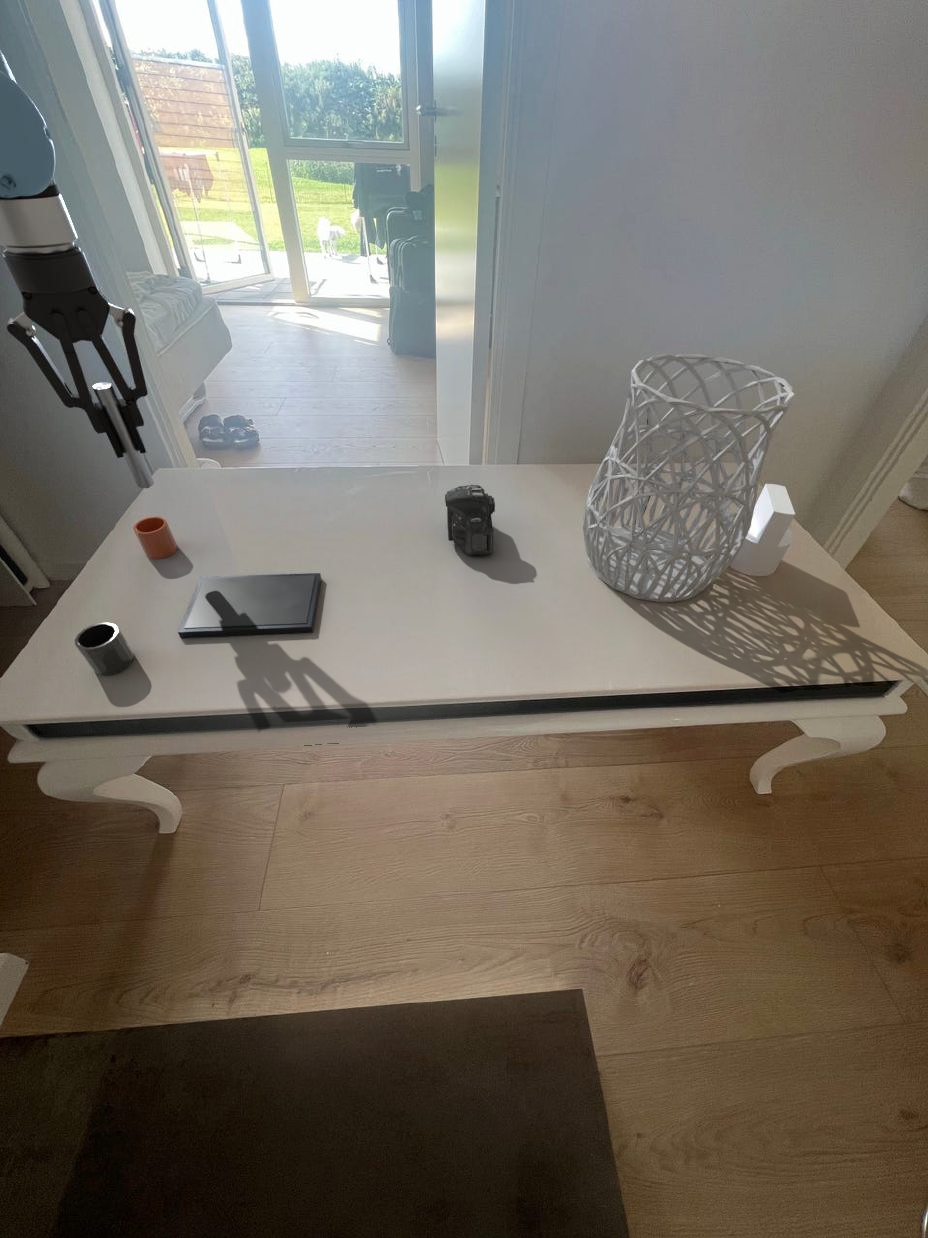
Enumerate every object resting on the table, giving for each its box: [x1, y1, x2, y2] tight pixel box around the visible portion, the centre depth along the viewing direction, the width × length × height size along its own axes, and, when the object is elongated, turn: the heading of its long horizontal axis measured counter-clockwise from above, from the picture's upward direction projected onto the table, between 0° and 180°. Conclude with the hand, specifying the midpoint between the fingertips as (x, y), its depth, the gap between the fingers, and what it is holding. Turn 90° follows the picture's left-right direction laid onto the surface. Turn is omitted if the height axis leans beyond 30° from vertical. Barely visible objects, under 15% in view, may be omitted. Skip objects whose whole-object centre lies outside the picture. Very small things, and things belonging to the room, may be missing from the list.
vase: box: [582, 353, 795, 603], centre depth 78 cm, size 24×24×30 cm
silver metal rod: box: [92, 381, 155, 489], centre depth 72 cm, size 2×2×15 cm
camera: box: [444, 484, 496, 556], centre depth 88 cm, size 13×10×10 cm
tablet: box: [177, 572, 322, 639], centre depth 77 cm, size 18×12×1 cm, turn 95°
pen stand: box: [74, 621, 135, 677], centre depth 67 cm, size 5×5×5 cm
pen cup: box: [132, 516, 178, 560], centre depth 85 cm, size 5×5×5 cm
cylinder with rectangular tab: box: [728, 483, 796, 577], centre depth 85 cm, size 9×9×12 cm
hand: (131, 450), depth 73 cm, fingers closed on silver metal rod, 2 cm apart
